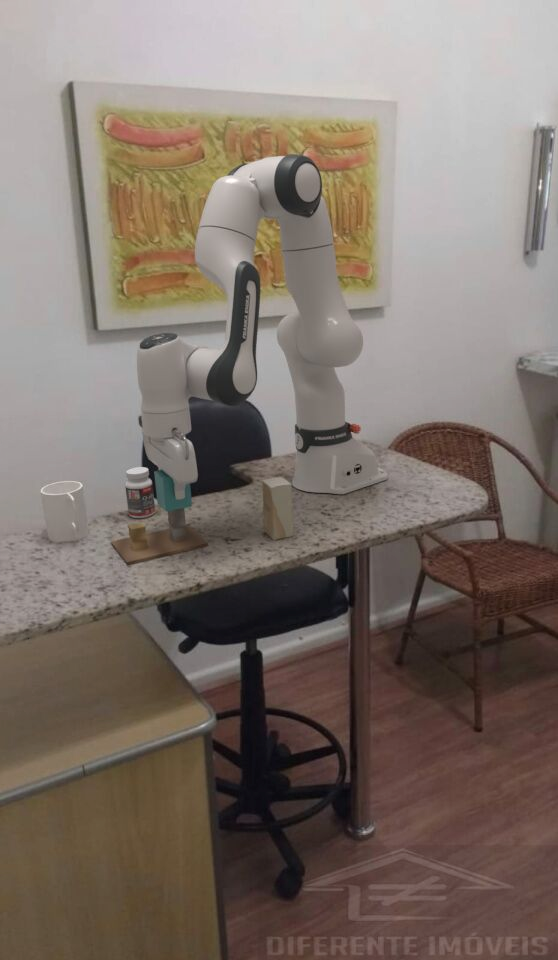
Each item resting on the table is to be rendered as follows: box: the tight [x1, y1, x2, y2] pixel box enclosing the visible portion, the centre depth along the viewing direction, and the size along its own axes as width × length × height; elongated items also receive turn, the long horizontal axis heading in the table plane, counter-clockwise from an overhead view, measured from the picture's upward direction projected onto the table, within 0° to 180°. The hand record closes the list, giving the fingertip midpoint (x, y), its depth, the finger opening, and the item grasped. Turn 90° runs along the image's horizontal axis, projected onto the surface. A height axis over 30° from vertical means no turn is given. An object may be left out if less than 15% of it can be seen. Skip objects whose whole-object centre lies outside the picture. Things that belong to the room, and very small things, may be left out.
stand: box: [111, 508, 209, 566], centre depth 144 cm, size 16×11×7 cm
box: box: [261, 476, 294, 541], centre depth 145 cm, size 5×4×11 cm
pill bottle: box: [124, 466, 156, 519], centre depth 160 cm, size 6×6×10 cm
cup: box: [40, 480, 90, 543], centre depth 150 cm, size 8×12×10 cm
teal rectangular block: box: [153, 470, 193, 513], centre depth 143 cm, size 5×5×7 cm
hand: (173, 493), depth 143 cm, fingers closed on teal rectangular block, 5 cm apart
